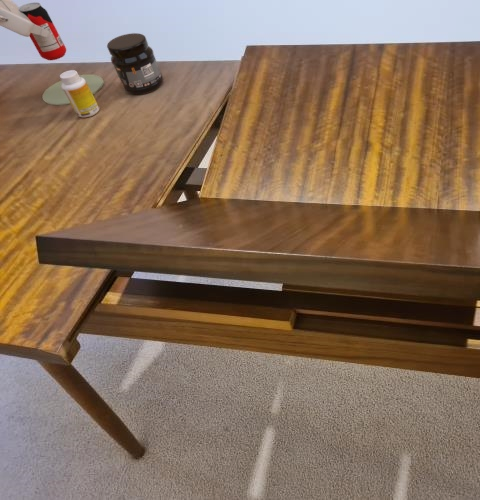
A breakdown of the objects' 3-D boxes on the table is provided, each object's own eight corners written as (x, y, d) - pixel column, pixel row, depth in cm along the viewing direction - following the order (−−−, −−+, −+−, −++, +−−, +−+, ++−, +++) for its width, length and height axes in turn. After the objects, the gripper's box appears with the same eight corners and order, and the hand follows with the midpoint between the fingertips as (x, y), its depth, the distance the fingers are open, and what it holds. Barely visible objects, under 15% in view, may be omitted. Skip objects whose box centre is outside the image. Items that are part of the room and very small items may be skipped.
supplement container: (132, 77, 126) (113, 33, 117) (169, 75, 125) (152, 30, 116) (119, 97, 119) (97, 51, 110) (157, 95, 118) (139, 48, 109)
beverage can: (71, 49, 119) (45, 0, 111) (64, 59, 115) (37, 9, 106) (47, 52, 119) (19, 3, 111) (39, 63, 115) (10, 13, 106)
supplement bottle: (104, 108, 116) (85, 69, 108) (89, 120, 112) (67, 80, 105) (88, 105, 118) (68, 67, 110) (72, 116, 114) (50, 78, 107)
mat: (30, 101, 122) (29, 99, 122) (72, 73, 132) (72, 71, 132) (74, 108, 117) (73, 107, 117) (115, 78, 127) (115, 77, 126)
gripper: (-13, -5, 95) (59, 28, 106) (-28, -24, 107) (38, 8, 118) (-22, 24, 97) (50, 54, 108) (-35, 2, 109) (31, 31, 119)
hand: (44, 30), depth 113 cm, fingers closed on beverage can, 6 cm apart
